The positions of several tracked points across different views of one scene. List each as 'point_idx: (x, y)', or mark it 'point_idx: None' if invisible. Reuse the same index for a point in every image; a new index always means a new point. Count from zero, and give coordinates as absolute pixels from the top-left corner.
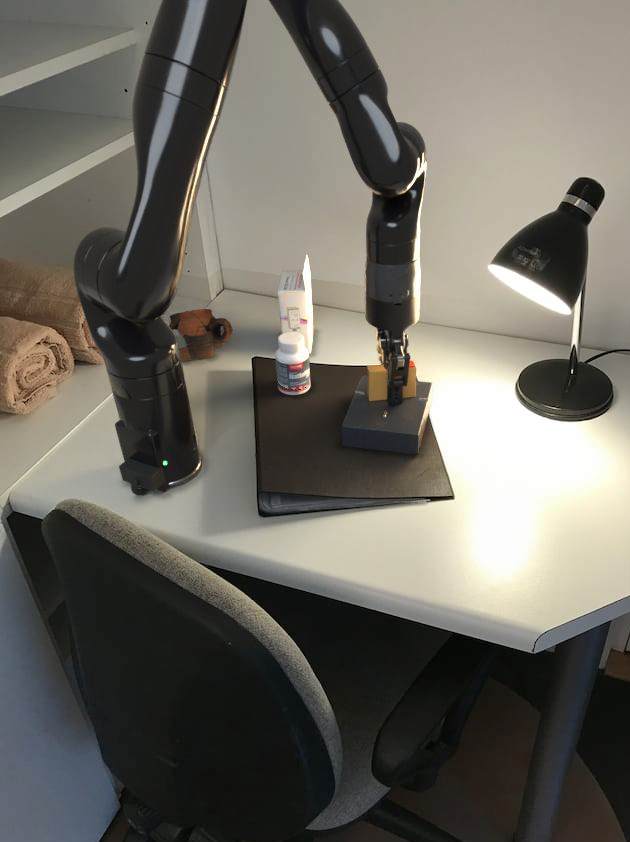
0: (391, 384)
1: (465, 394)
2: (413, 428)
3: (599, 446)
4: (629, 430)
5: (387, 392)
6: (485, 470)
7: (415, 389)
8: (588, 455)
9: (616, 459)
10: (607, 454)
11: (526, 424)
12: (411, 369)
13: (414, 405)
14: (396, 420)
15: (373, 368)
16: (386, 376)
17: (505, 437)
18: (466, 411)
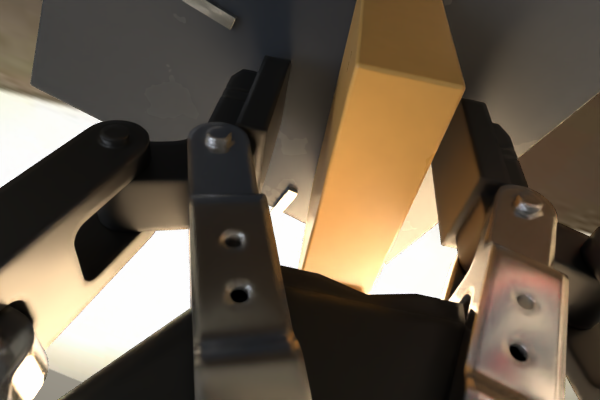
0: (74, 144)
1: (376, 282)
2: (77, 84)
3: (109, 354)
4: None
5: (259, 91)
6: (12, 178)
7: (308, 209)
8: (81, 334)
9: (70, 352)
10: (85, 351)
11: None
12: None
13: None
14: (146, 40)
15: (395, 119)
16: (251, 155)
17: (156, 267)
18: (294, 252)
